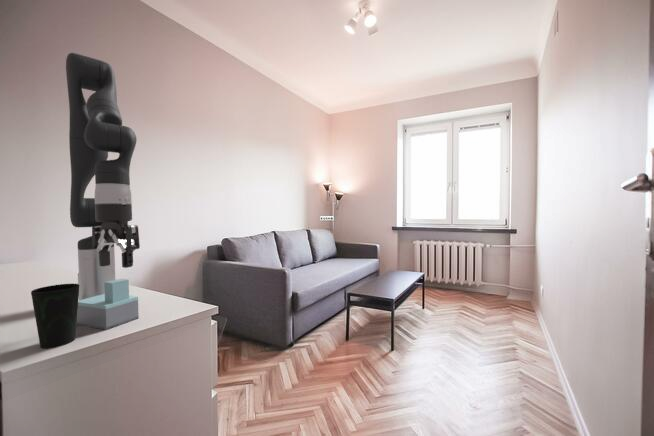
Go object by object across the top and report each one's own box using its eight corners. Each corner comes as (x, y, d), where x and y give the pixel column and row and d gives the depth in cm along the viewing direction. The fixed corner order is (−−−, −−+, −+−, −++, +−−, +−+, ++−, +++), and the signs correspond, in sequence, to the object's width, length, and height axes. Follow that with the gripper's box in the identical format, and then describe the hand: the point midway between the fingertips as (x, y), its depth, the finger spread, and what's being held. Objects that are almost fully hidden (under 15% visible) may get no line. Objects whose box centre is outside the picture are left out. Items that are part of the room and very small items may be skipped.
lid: (74, 307, 74) (73, 282, 73) (108, 298, 81) (107, 275, 81) (105, 312, 69) (104, 285, 69) (138, 302, 77) (137, 277, 77)
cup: (77, 332, 68) (75, 281, 68) (85, 340, 63) (83, 286, 63) (30, 344, 62) (28, 288, 62) (35, 354, 58) (33, 294, 57)
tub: (75, 324, 74) (74, 304, 73) (108, 313, 81) (107, 295, 81) (106, 329, 69) (105, 309, 69) (138, 318, 77) (138, 299, 77)
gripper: (79, 203, 72) (81, 268, 72) (117, 201, 67) (120, 270, 67) (110, 204, 79) (112, 263, 79) (147, 202, 74) (149, 265, 74)
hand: (116, 266), depth 73 cm, fingers open, 8 cm apart
